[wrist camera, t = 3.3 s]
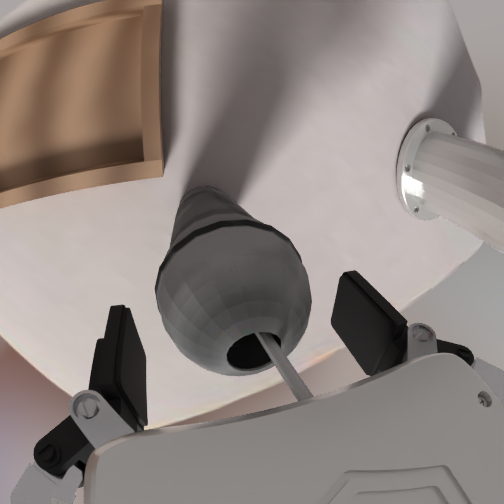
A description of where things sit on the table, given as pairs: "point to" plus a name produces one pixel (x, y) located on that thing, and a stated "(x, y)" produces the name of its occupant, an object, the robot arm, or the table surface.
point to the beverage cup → (233, 290)
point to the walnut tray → (81, 100)
